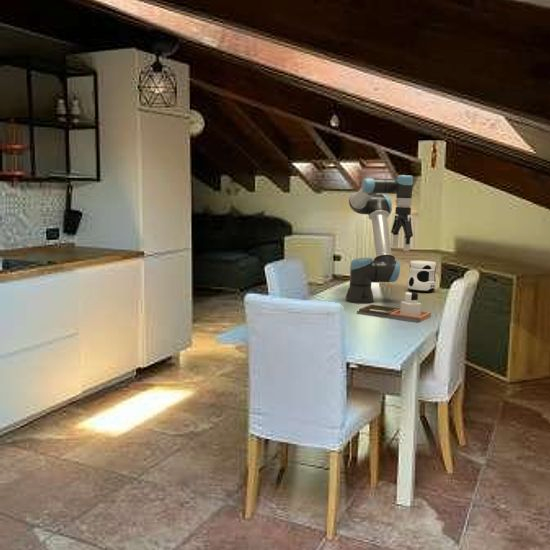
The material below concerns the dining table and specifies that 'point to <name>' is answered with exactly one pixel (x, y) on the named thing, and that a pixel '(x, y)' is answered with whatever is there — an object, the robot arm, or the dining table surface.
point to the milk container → (422, 276)
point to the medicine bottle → (411, 305)
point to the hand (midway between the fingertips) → (400, 249)
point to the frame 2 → (423, 316)
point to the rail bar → (388, 316)
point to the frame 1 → (377, 307)
